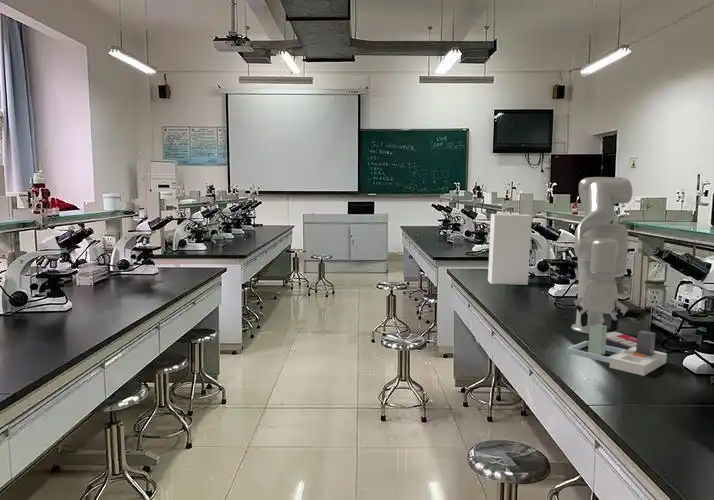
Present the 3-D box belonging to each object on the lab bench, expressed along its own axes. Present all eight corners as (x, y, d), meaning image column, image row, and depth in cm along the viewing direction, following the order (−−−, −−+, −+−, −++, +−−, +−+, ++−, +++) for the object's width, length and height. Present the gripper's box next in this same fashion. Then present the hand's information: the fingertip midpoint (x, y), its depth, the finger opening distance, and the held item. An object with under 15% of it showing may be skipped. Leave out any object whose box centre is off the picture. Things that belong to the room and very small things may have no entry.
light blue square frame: (585, 347, 196) (585, 340, 196) (626, 357, 186) (626, 349, 186) (566, 355, 186) (566, 348, 186) (608, 365, 176) (609, 358, 176)
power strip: (633, 358, 185) (634, 344, 184) (665, 365, 178) (667, 351, 177) (609, 370, 172) (610, 355, 171) (643, 379, 165) (644, 363, 164)
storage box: (523, 281, 331) (526, 214, 327) (527, 284, 321) (531, 215, 316) (487, 280, 332) (490, 213, 327) (491, 284, 322) (494, 214, 317)
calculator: (633, 346, 187) (595, 333, 200) (631, 358, 188) (593, 344, 201) (653, 342, 193) (614, 329, 206) (651, 354, 193) (613, 341, 206)
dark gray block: (640, 358, 181) (642, 330, 180) (653, 361, 178) (655, 332, 177) (635, 361, 178) (637, 332, 177) (648, 364, 175) (651, 335, 174)
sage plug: (593, 351, 189) (595, 324, 188) (605, 354, 186) (607, 326, 185) (587, 353, 186) (589, 325, 185) (599, 356, 183) (601, 328, 182)
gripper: (571, 275, 187) (568, 325, 188) (624, 281, 174) (620, 335, 176) (581, 273, 192) (578, 322, 193) (633, 279, 179) (630, 332, 181)
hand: (598, 328), depth 184 cm, fingers open, 9 cm apart
